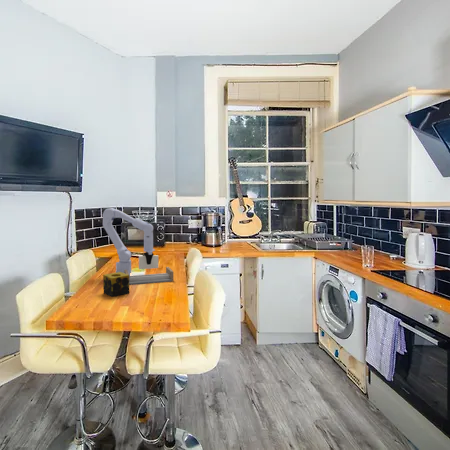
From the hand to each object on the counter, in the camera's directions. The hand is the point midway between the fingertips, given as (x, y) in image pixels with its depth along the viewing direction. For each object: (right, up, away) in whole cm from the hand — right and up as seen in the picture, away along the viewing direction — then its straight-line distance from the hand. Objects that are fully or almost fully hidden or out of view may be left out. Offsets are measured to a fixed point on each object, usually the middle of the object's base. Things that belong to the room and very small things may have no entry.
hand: (148, 263), depth 215 cm
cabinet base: (+3, -9, -12) cm, 15 cm away
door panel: (0, -3, 0) cm, 3 cm away
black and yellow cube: (-8, -11, -39) cm, 41 cm away
